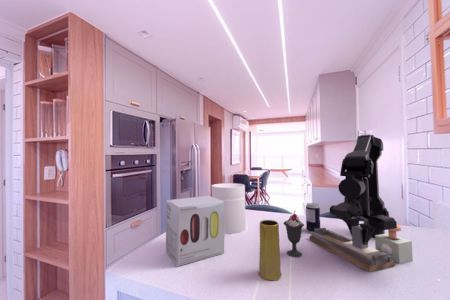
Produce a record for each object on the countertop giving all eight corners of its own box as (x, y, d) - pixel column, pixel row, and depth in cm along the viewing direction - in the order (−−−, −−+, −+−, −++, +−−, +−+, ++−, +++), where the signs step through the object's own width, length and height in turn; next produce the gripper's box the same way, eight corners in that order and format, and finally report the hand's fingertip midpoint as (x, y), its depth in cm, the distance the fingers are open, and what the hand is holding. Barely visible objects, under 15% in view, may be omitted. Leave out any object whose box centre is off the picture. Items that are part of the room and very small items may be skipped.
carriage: (355, 246, 68) (354, 223, 68) (379, 257, 60) (377, 230, 61) (343, 248, 67) (342, 224, 67) (366, 260, 59) (365, 232, 59)
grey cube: (388, 250, 68) (387, 233, 69) (412, 260, 62) (411, 241, 62) (374, 253, 67) (374, 235, 67) (398, 264, 60) (397, 243, 60)
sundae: (295, 260, 63) (293, 212, 63) (280, 251, 69) (279, 208, 69) (309, 255, 66) (308, 210, 66) (293, 247, 72) (292, 206, 72)
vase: (256, 268, 58) (255, 219, 59) (277, 267, 59) (275, 218, 59) (262, 281, 52) (261, 226, 53) (284, 280, 53) (283, 225, 53)
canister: (251, 225, 96) (250, 184, 97) (235, 236, 83) (234, 188, 84) (223, 220, 105) (223, 182, 106) (204, 229, 91) (204, 186, 92)
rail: (329, 236, 82) (329, 226, 82) (394, 266, 59) (393, 252, 59) (309, 239, 79) (309, 229, 79) (369, 272, 56) (368, 257, 56)
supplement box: (177, 268, 59) (177, 207, 60) (165, 251, 70) (165, 199, 71) (226, 253, 68) (225, 200, 69) (208, 240, 79) (208, 194, 80)
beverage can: (322, 234, 84) (321, 205, 85) (307, 233, 85) (307, 205, 86) (318, 229, 90) (317, 202, 90) (305, 228, 91) (304, 202, 92)
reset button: (390, 236, 67) (389, 222, 67) (405, 241, 63) (404, 226, 63) (380, 238, 66) (380, 223, 66) (395, 243, 62) (394, 228, 62)
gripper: (316, 191, 71) (318, 235, 70) (367, 201, 53) (370, 260, 52) (340, 189, 74) (342, 231, 73) (396, 198, 56) (399, 254, 56)
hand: (360, 242), depth 64 cm, fingers closed on carriage, 3 cm apart
